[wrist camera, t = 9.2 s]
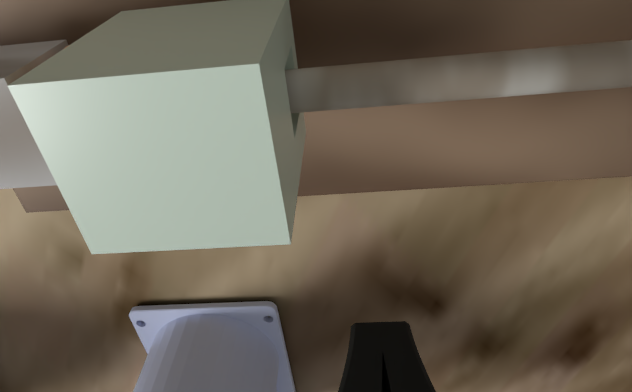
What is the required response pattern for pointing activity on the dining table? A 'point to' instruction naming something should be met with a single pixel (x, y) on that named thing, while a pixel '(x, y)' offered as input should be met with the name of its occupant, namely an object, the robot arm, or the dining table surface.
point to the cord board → (397, 90)
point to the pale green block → (173, 127)
